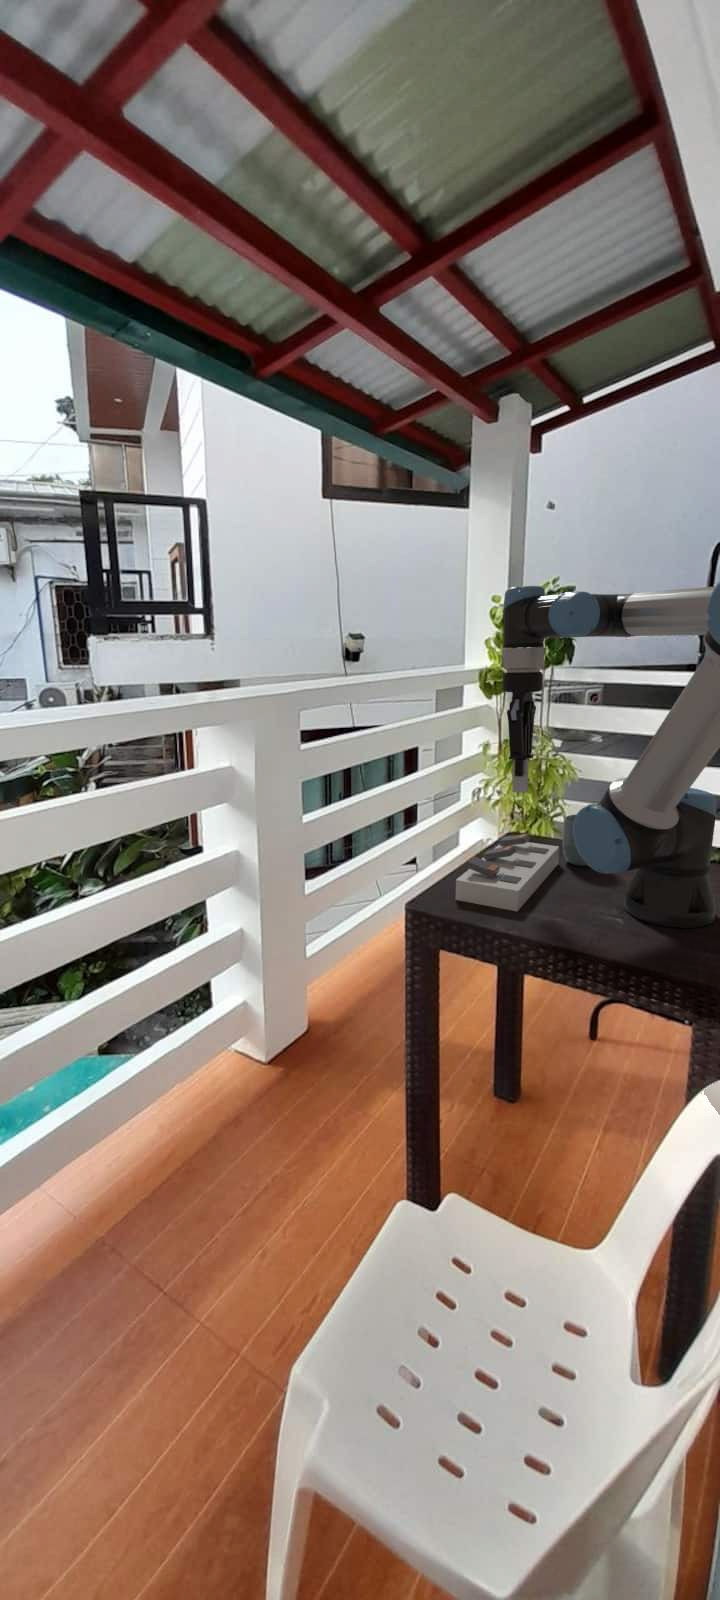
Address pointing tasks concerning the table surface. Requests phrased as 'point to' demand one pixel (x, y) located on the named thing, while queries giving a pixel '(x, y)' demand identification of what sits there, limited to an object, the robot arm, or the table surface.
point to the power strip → (509, 877)
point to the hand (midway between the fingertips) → (520, 791)
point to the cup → (570, 843)
